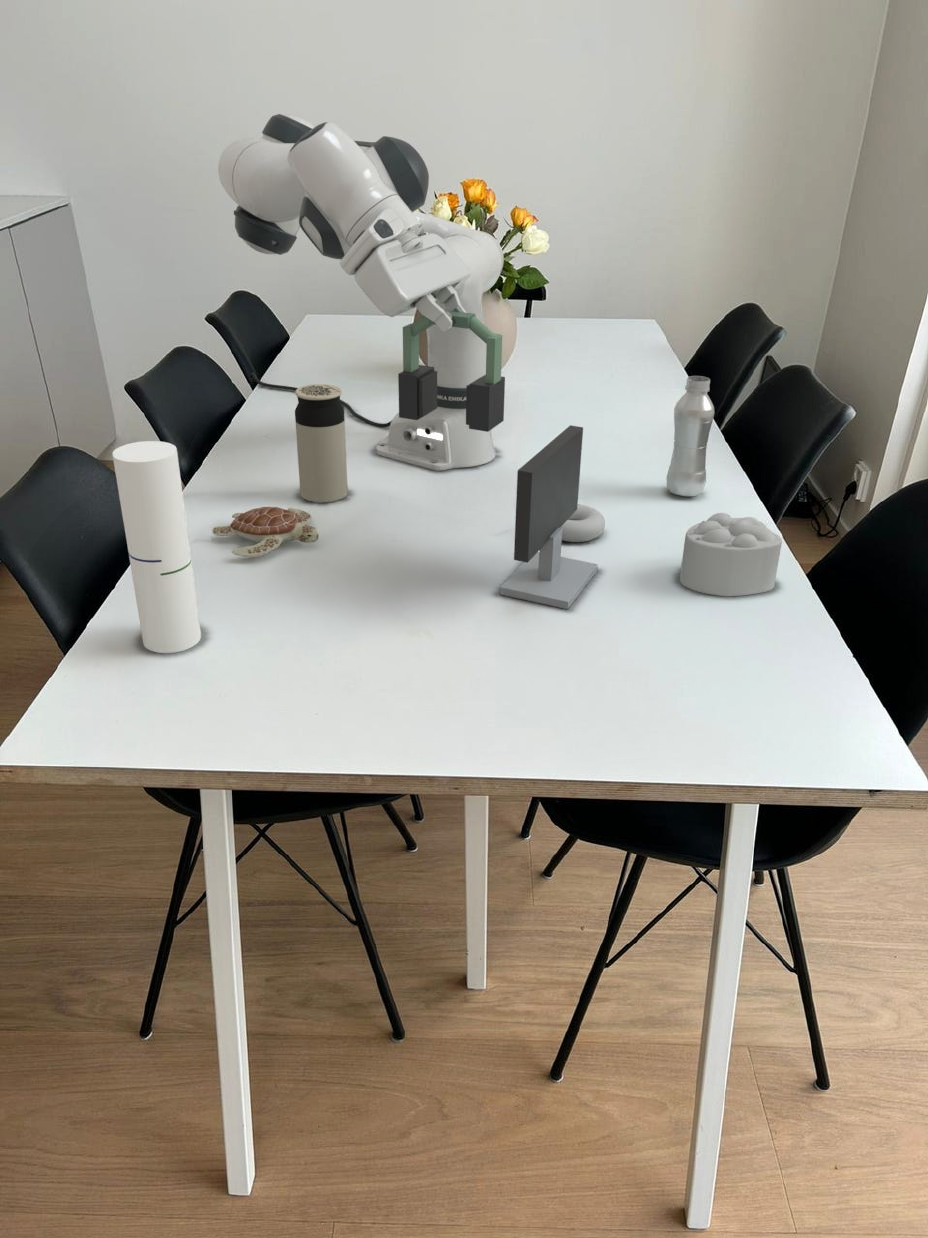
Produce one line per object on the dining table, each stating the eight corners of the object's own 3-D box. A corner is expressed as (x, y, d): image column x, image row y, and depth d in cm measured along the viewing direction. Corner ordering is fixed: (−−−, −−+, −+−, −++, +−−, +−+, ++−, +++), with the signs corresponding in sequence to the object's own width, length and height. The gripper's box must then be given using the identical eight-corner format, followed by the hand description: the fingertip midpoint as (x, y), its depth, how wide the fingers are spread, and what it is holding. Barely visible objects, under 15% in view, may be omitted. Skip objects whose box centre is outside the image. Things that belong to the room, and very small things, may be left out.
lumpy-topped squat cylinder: (782, 590, 143) (792, 534, 139) (697, 600, 140) (705, 543, 136) (747, 559, 152) (755, 505, 147) (666, 568, 149) (673, 513, 145)
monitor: (489, 605, 138) (493, 466, 128) (541, 549, 154) (548, 421, 144) (558, 620, 134) (568, 479, 125) (604, 561, 150) (616, 432, 141)
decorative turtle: (289, 572, 146) (287, 540, 143) (190, 553, 151) (186, 522, 148) (345, 525, 161) (344, 495, 158) (253, 509, 166) (251, 480, 163)
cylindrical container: (148, 625, 132) (119, 441, 120) (204, 624, 132) (181, 440, 120) (138, 654, 125) (106, 462, 113) (196, 652, 126) (171, 461, 114)
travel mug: (310, 507, 167) (303, 400, 158) (294, 490, 173) (286, 386, 164) (355, 499, 170) (350, 393, 161) (337, 483, 176) (332, 381, 168)
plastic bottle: (704, 502, 171) (720, 385, 161) (663, 498, 172) (677, 382, 163) (704, 488, 177) (719, 374, 167) (664, 485, 178) (678, 372, 168)
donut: (596, 550, 154) (610, 524, 162) (598, 529, 152) (612, 504, 161) (533, 540, 157) (549, 515, 165) (534, 520, 155) (551, 496, 163)
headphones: (398, 417, 137) (397, 311, 130) (416, 407, 141) (415, 304, 134) (488, 431, 132) (491, 322, 125) (503, 420, 136) (507, 314, 130)
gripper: (409, 243, 139) (473, 323, 140) (332, 267, 123) (404, 357, 124) (439, 210, 135) (504, 293, 137) (363, 231, 119) (437, 324, 120)
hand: (456, 324), depth 130 cm, fingers closed on headphones, 2 cm apart
